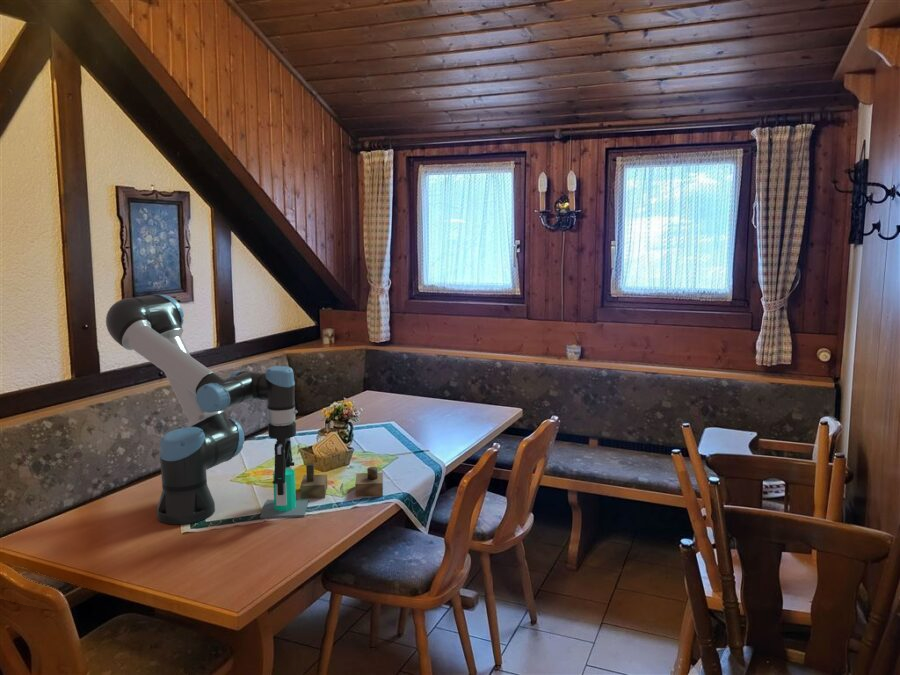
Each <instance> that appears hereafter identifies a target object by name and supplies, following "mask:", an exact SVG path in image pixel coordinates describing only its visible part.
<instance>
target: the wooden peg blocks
mask: <svg viewBox="0 0 900 675" xmlns="http://www.w3.org/2000/svg"><path fill="white" fill-rule="evenodd" d="M305 467H306V474H304V475H303V477H302V480H301V482H300V499H305V498H309V499H325V498H326V494H327V491H326V490H328V473H327V474H326V473H325V474H324V473H322V474H315V463H314V462H307V463H306V465H305ZM366 470H367V472H366V473H359V472H358V473H356V474H355V484H354V485H355V489H354V490H355V498H362V497H365V498H367V497H383V495H384V494H383V493H384V492H383V490H384V488H383V487H384V481H383V480H384V478H383V476H384V474H383V473H384V472H378V467H376V466H370V467H368V468H367V469H366Z"/></svg>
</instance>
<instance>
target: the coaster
mask: <svg viewBox="0 0 900 675" xmlns="http://www.w3.org/2000/svg"><path fill="white" fill-rule="evenodd" d="M309 502H310V498H305V499H301V498H296V507H295V508H294V509H292V510H289V511H278V510H276V509H274V499H266V501H265V503H264V506H263V508H262V511H261V513H260V515H259V519H279V518H280V519H282V518H283V519H284V518H287V519H288V518H304V517H306V516H305V515H306V512H307V508H308V506H309Z"/></svg>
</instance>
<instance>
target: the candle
mask: <svg viewBox="0 0 900 675" xmlns="http://www.w3.org/2000/svg"><path fill="white" fill-rule="evenodd" d="M274 474H275V470H274V471H273V476H272V477H273V479H272V482H273V481H274ZM279 479H281V478H279ZM285 482H286V495H287V505H283V506H276V484H273V500H274V509H276V510H278V511H289V510H292V509H294V508H295V507H296V499H297V498H296V494H297V492H296V472H295V470H294V469H293V468H292V469H286V472H285Z"/></svg>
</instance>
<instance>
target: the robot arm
mask: <svg viewBox="0 0 900 675" xmlns="http://www.w3.org/2000/svg"><path fill="white" fill-rule="evenodd" d="M184 314H185V313H184V310H183V307H182V306H181V305H180V303H179V302H178V301H177V300H176V299H175V298H174V297H172V296H169V295H167V294H150V295H143V296H138V297H137V296H136V297H127V298H122V299H119V300H118V301H116V302H114V303H113V304H112V306H111V307H110V308H109V309H108V311H107V313H106V317H105V326H106V329H107V331H108V334H109V335H110V337H111V338H112V339H113V341H115V342H116V343H118V344H119V346H121V347H123V348H124V349H125V350H128V351H132V350H133V351H135V353H138V354H139V355H140V356H141V357H143V358H144V359H145V360H147V361H148V362H150V363H151V364H152V365H154V366H155V367H157V368H158V369H160V370H161V371H162V372H163V373H164V375H165V377H166V378H167V381H168V382H169V384H170V387H171V389H172V391H173V393H174V395H175V397H176V399H177V401H178V402H179V404H180V407H181V409H182V411H183V413H184V415H185V416H186V420H187V421H188V424H187V426H186V427H182V428H177V429H174V430H173V429H172V430H171V431H168V432H167V433H165V434H164V435H163V436H162V437H161V439H160V441H159V452H158V454H159V459H160V460H159V462H160V474H161V476H160V477H161V485H162V486H161V487H162V490H161V494H160V499H159V502H158V504H157V508H156V509H157V510H156V516H157V519H158V521H159V522H161V523H163V524H167V525H187V524H192V523H196V522H201V521H203V520H206V519H208V518H210V517H211V516H213V515H214V513H215V512H216V507H215V506H216V505H215V501H214V498H213V495H212V493H211V490H210V488H209V486H208V481H207V480H208V479H207V476H208V475H207V471H208V470H210V469H212V468H214V467H216V466H219V465H221V464H223V463H224V462H225V463H226V462H228V461H230V460H231V459H233V458H234V457H236V456H238V455H239V454H240V452H241V451H242V449H243V447H244V444H245V434H244V429H243V427H242V425H241V424H240V423H239V422H238V421H237V420H235V419H234V418H229V417H227V414H226V412H225V410H226V409H227V408H230V407H233V406H235V405H238V404H241V403H245V402H247V401H250V400H261V401H266V408H267V411H266V412H267V422H268V424H267V425H268V426H267V431H268V438H271V439H274V440H276V442H275V443H274V471H275V474H274V481H273V480H272V484H273V485H274V484H276V506H283V505H287V495H286V482H285V472H286V469H293V468H292V467H295V461H293V452H292V444H291V443H292V442H291V439H292V438H293V437H295V436H297V423H296V414H297V413H298V410H297V409H296V401H295V397H296V396H295V385H296V381H295V375H294V370H293V368H292V367H290V366H285V365H283V366H279V365H276V366H275V365H274V366H271V367H268V368H266V370H265V372H256V371H249V370H237V371H234V372H232V373H231V375H229V377H227V378H222V377H221V376H219V375H218V374H216V373H215V372H214V371H212V370H211V369H209V368H208V367H207V366H205V365H204V364H203V363H201V362H199V361H198V360H197V359H195V358H194V357H192V356H191V354H190V353H189V350H188V348H187V346H186V344H185V342H184V340H183V338H182V335H183V332H184V328H183V327H182V326H183V324H184V321H185V320H184V317H185V315H184ZM279 478H281V479H279Z"/></svg>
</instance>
